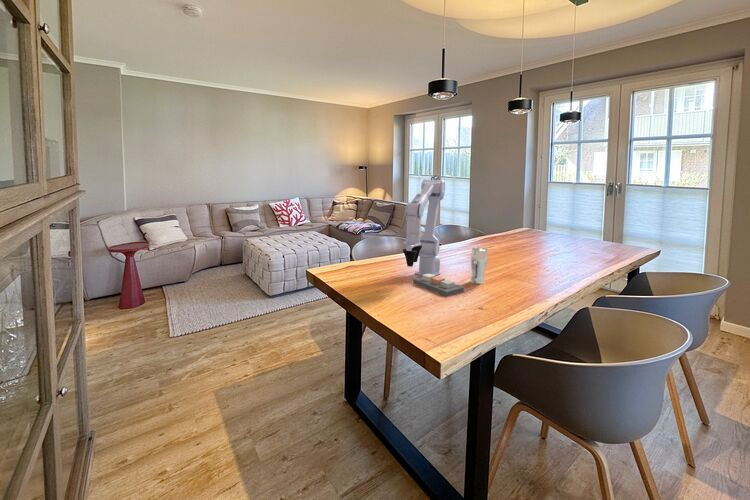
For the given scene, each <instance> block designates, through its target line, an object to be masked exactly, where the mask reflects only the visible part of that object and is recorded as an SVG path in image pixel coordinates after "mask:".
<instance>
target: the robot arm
mask: <svg viewBox="0 0 750 500" xmlns="http://www.w3.org/2000/svg"><path fill="white" fill-rule="evenodd" d="M420 189H421V191H420V193H417V194H416V195H415V196H414V198H413V199H412V201H411V202H408V203H407V204H406V205H405V207H404V208H405V209H404V215H405V221H406V231H405V233H406V239H405V241H403V242H402V244H403V245H405V246H406V248H403V249H402V252H403V254H404V256H405V261H406V266H407V267H410V268H412V267H414V264H415V263H417V262H419V263H418V264H419V265H418V271H415V272H414V274H415V275H419V276H420V277H422V275H424V274H432V275H435V276H439V275H441V273H440V266H441V259H440V258H439V256H438V255H439V253H440V239H438V237H436V227H437V220H438V214H439V207H440V202H441V201H443V200H444V197H445V193H446V182H445V181H444V180H443V179H440V180H438V179H423V180H422V182H421V187H420ZM427 204H428V206H427V213H426V220H425V224H424V225H425V228H424V234H423V235H421V230H422V229H421V225H422V224H421V223H422V222H421V221H422V217H423V216H424V211H425V207H426V205H427ZM418 260H419V261H418Z"/></svg>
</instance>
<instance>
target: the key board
mask: <svg viewBox="0 0 750 500" xmlns="http://www.w3.org/2000/svg"><path fill="white" fill-rule="evenodd" d="M412 283H413V284H414V285H416V286H418V287H421V288H424V289H426V290H429V291H432V292H434V293H436V294H439V295H442V296H444V297H450V296H454V295H458V294H461V293H464V292H465V287H464V286H461V285H459V284H457V283H455V287H454V288H449V289H446V288H444V287H441V286H440V285H436V284H433V283H431V281H430V282H427V281H425V280H422V276H420V277H416V278H413V279H412Z"/></svg>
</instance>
